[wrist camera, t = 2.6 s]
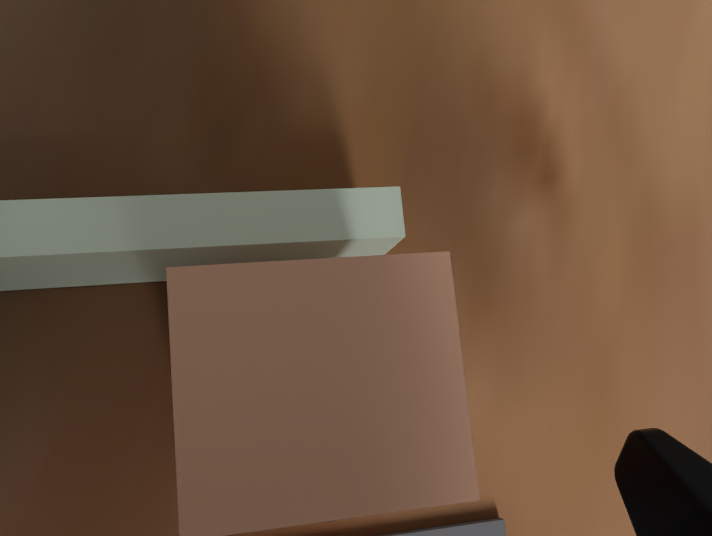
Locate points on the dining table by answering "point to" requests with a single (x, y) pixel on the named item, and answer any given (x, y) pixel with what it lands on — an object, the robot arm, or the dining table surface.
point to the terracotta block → (316, 391)
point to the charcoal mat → (460, 529)
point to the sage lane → (187, 233)
